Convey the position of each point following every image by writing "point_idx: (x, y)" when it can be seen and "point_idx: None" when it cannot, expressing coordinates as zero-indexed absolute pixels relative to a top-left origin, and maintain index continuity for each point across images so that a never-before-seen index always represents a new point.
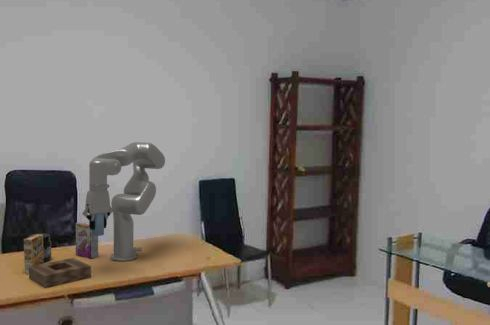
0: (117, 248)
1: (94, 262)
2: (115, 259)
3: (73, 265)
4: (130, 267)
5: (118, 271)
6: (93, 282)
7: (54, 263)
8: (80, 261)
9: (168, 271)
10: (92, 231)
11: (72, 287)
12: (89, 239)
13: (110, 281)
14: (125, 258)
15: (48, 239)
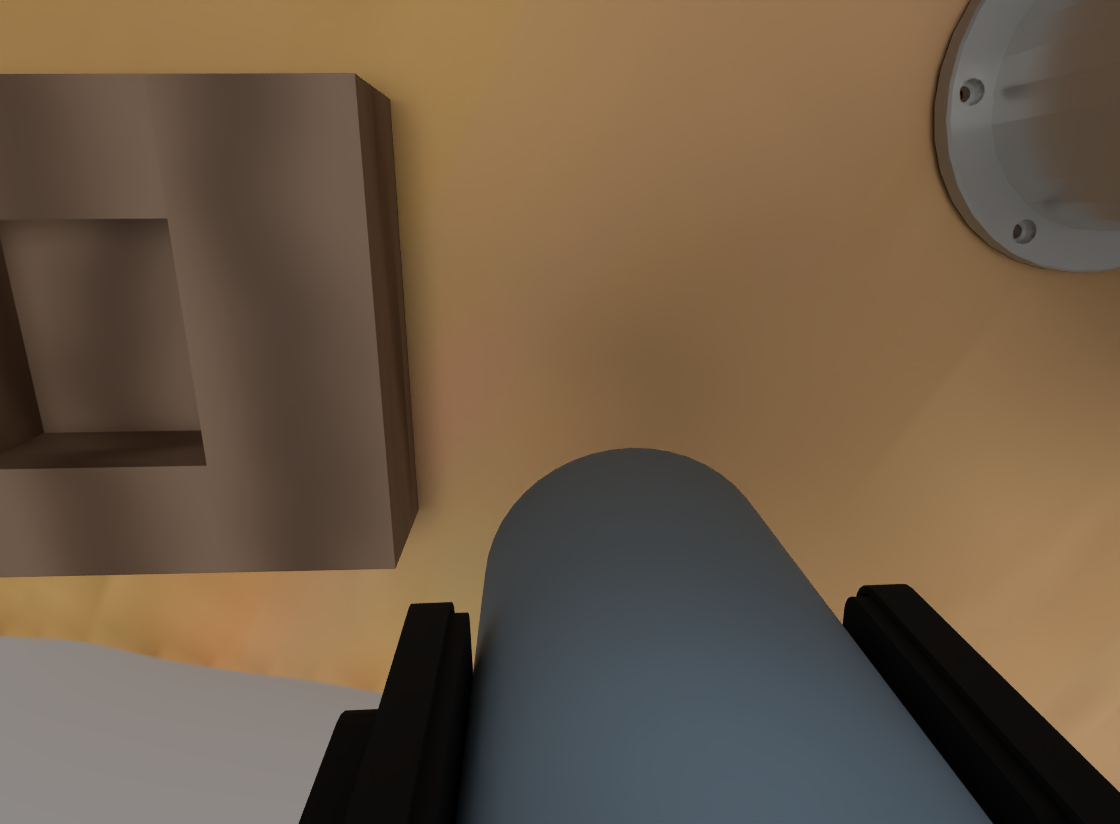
0: (1092, 130)
1: (715, 29)
2: (945, 163)
3: (222, 426)
4: (889, 486)
5: None
6: (372, 645)
7: (22, 173)
8: (365, 322)
9: None
10: (482, 608)
11: (164, 647)
12: None
13: None
14: (1037, 244)
15: None
